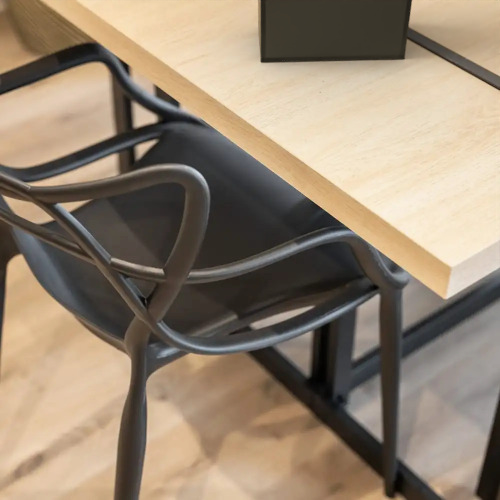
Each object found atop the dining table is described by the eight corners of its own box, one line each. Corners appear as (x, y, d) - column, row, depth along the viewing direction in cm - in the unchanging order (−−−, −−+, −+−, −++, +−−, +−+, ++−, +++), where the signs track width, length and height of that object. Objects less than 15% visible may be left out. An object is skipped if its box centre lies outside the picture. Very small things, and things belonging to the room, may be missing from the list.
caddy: (392, 23, 95) (400, -40, 90) (404, 59, 89) (413, -7, 84) (258, 26, 95) (257, -37, 90) (260, 62, 89) (260, -4, 83)
